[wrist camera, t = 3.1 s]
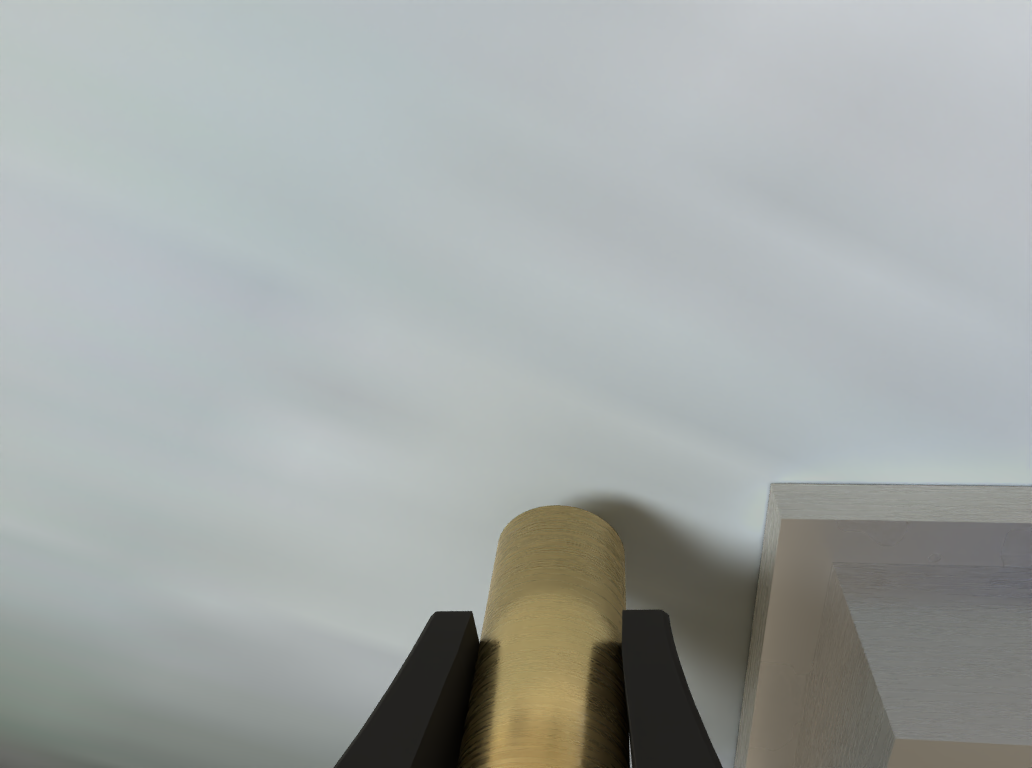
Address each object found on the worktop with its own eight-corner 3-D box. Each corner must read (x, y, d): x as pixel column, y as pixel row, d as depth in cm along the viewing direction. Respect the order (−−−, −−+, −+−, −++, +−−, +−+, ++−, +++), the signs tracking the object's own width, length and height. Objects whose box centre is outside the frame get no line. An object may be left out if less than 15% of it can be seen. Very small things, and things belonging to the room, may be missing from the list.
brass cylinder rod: (625, 506, 13) (640, 1100, 7) (624, 601, 15) (636, 1188, 8) (492, 503, 14) (375, 1070, 7) (502, 598, 15) (411, 1159, 8)
